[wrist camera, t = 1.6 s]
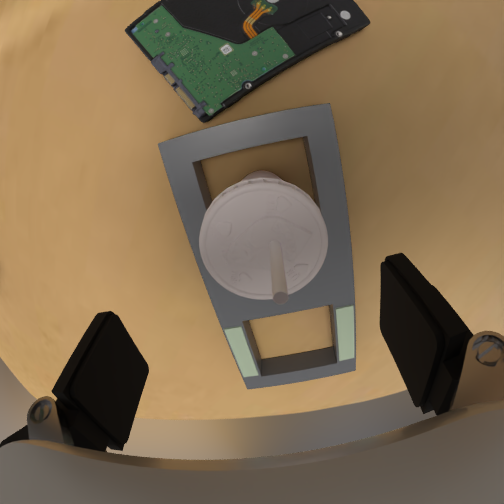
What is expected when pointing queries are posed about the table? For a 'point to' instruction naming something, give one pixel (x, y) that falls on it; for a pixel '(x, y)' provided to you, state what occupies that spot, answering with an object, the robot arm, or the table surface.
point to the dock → (337, 257)
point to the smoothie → (263, 238)
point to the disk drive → (236, 43)
